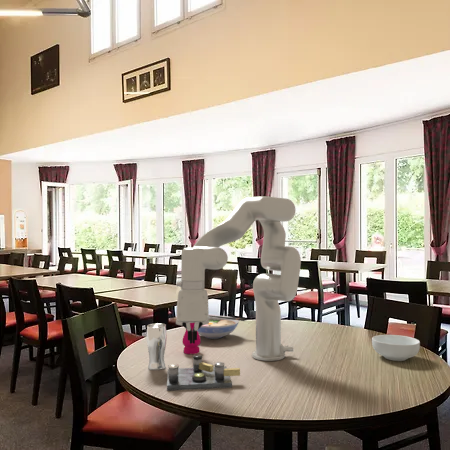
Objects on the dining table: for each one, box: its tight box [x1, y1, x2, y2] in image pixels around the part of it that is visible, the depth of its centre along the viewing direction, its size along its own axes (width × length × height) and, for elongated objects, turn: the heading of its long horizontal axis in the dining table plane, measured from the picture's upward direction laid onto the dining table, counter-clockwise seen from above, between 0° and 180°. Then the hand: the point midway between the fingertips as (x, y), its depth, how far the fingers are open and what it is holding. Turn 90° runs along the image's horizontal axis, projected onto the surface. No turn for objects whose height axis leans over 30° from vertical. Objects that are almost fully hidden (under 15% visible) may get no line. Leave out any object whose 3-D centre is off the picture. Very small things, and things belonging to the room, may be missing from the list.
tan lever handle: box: [192, 354, 214, 372], centre depth 150 cm, size 8×3×5 cm, turn 49°
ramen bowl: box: [198, 315, 248, 340], centre depth 203 cm, size 25×23×8 cm
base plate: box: [166, 365, 233, 392], centre depth 147 cm, size 20×16×3 cm
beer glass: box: [146, 322, 167, 371], centre depth 160 cm, size 7×7×15 cm
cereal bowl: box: [371, 334, 421, 362], centre depth 170 cm, size 17×17×7 cm
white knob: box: [167, 363, 180, 382], centre depth 144 cm, size 8×3×5 cm, turn 6°
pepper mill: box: [182, 322, 201, 355], centre depth 179 cm, size 7×7×20 cm
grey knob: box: [213, 361, 241, 380], centre depth 144 cm, size 8×3×5 cm, turn 96°
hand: (192, 342), depth 146 cm, fingers closed
